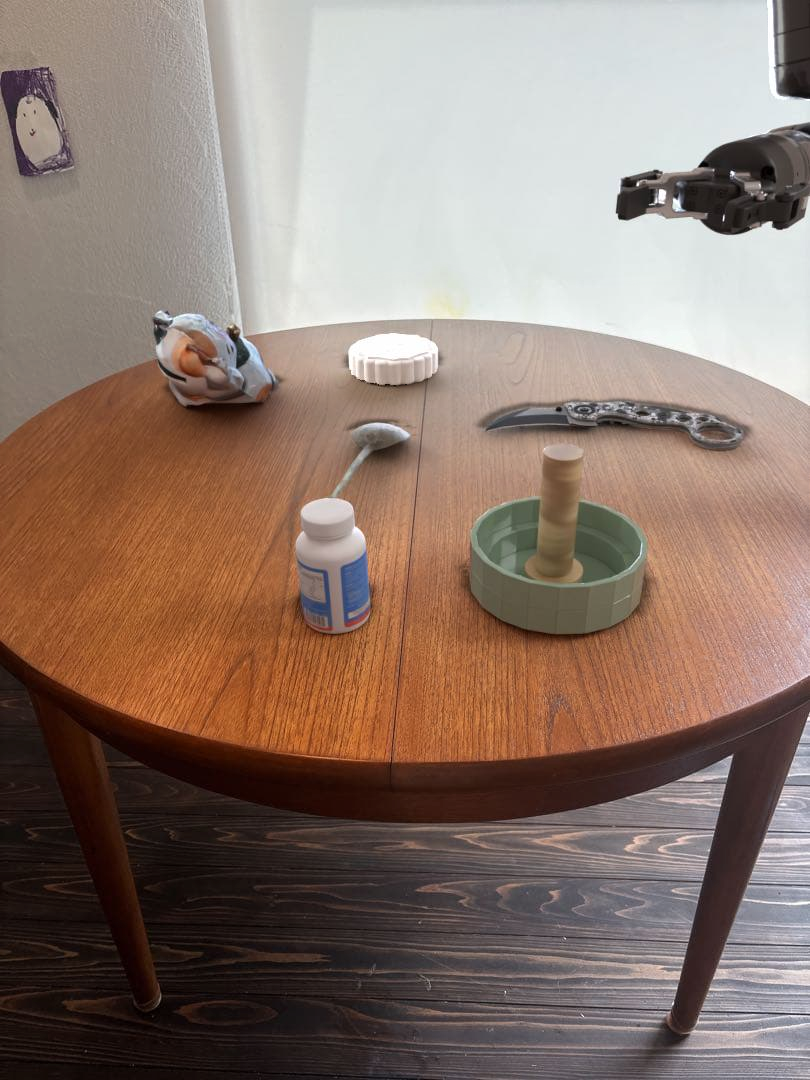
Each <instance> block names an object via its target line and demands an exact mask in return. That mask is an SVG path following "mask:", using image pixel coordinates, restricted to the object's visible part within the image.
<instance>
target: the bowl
mask: <svg viewBox="0 0 810 1080" xmlns="http://www.w3.org/2000/svg"><path fill="white" fill-rule="evenodd" d="M539 511H540V496H529V497H525V498H524V497H523V498H520V499H515V500H509V501H506V502H503V503H502V504H499V505H497V506H495V507H494V506H493V507H492V508H489V509H488V510H486V511H485V513H483V514H482V515H481V516H480V517H478V518H477V519H476V520H475V522H474V524H473V527H472V529H471V531H470V532H469V568H468V573H469V574H468V578H469V579H468V580H469V586H470V592H471V595H473V596H474V598H475V599H476V600H477V602H478V603H479V605H480V606H481V607H482V609H484V610H485V611H487V612H488V613H490V614H491V615H493V616H495V617H496V618H497V619H498V620H500V621H501V622H505V623H507V624H510V625H512V626H515V627H518V628H520V629H523V630H526V631H532V632H539V633H545V634H551V635H582V634H589V633H593V632H597V631H602V630H606V629H609V628H611V627H613V626H615V625H617V624H618V623H620V622H622V621H624V620H626V619H628V618H629V617H630V616H631V614H632V613H633V612H634V610H635V609H636V608H637V607H638V605H639V604H640V602H641V597H642V590H643V583H644V576H645V571H646V562H647V555H648V548H649V542H648V540H647V538H646V536H645V534H644V532H643V530H642V528H641V527H640V526H638V525H637V523H635V522H634V521H633V520H632V519H631V518H629V517H628V516H627V515H625V514H623V513H621V512H619V511H616V510H615V509H613V508H611V507H609V506H606V505H603V504H601V503H600V504H599V503H596V502H593V501H589V500H585V499H580V498H579V506H578V516H577V527H576V537H575V547H574V557H573V558H575V559H576V560H577V561H579V562H580V563H581V565H582V567H583V580H582V583H569V584H557V583H551V582H544V581H537V580H531V579H528V578H525V577H524V567H525V563H526V561H527V560H528V559H529V558H530V557H532V556H534V555H536V553H537V539H538V525H539Z"/></svg>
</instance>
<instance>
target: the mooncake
mask: <svg viewBox="0 0 810 1080" xmlns="http://www.w3.org/2000/svg"><path fill="white" fill-rule="evenodd" d="M348 366H349V371H350V370H351V371H350V375H351V376H352V375H355V376H356V377H357V378H358V379H360V380H365V381H366V382H365V381H364V382H365V383H367V382H370V383H374V384H375V383H377V384H376V385H378V384H379V385H378V386H386V385H385V384H390V385H389V386H393V385H396V386H400V385H405V384H407V385H412V384H414V383H420V382H423V381H424V380H427V378H428V379H431V378H432V376H433V375H435V374H437V372H438V367H439V348H438V346H437V345H436V343H435V342H433V341H431V340H429V339H428V338H426V337H422V336H419V335H418V334H400V333H394V332H391V333H386V334H384V333H383V334H382V333H379V334H377V335H374V336H371V337H366V338H362V339H359V340H357V341H356V342H355V343H353V344H352V345H351V346H350V348H349V349H348ZM432 374H433V375H432ZM356 377H355V378H356ZM357 378H356V379H357ZM358 379H357V380H358ZM360 380H359V381H360ZM370 383H369V384H370Z"/></svg>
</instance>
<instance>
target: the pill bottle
mask: <svg viewBox="0 0 810 1080" xmlns="http://www.w3.org/2000/svg"><path fill="white" fill-rule="evenodd" d="M300 527H301V529H302V531H301V532H300V533H299V535H298V536H297V538H296V540H295V557H296V566H297V573H298V580H299V581H298V582H299V588H300V596H301V597H300V598H301V607H302V614H303V618H304V621H305V623H306V624H307V626H309V627H310V628H311V629H313V630H314V631H317V632H319V633H322V634H323V633H324V634H328V635H329V634H330V635H340V634H345V633H349V632H353V631H355V630H357V629H359V628H360V627H362V626H363V625H364V624H365V623H366V622H367V620H369V618H370V616H371V615H370V614H371V595H370V583H369V568H368V567H369V566H368V553H367V544H366V543H367V542H366V538H365V535H364V533H363V532H362V531H361V529H359V528H358V527H357V526H356V518H355V511H354V507H353V505H352V504H351V503H350V502H349V501H346V500H344V499H342V498H327V497H325V498H319V499H315V500H312V501H310V502H308V503H307V504H305V505H304V506H303V507H302V508H301V510H300Z"/></svg>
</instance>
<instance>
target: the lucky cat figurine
mask: <svg viewBox="0 0 810 1080" xmlns="http://www.w3.org/2000/svg"><path fill="white" fill-rule="evenodd" d="M151 321H152V323H153V337H154V339H155V352H156V357H157V365H158V368H159V370H160V372H161V373H162V375H163V377H164V378H165V379H167V380H168V385H169V389H170V391H171V393H172V395H174V396H175V398H176V399H177V401H178V402H179V404H181V403H182V404H183V405H185V406H187V405H193V404H194V405H193V406H201V405H203V404H246V403H247V404H248V403H251V402H253V403H252V404H261V403H260V402H263V401H264V400H265V399H266V398H267V397H268V398H269V396H270V395H269V393H270V391H271V390H272V391H274V389H275V388H276V387H279V379H277V378H276V377H275V375H274V373H273V371H272V370H271V369H270V368H269V367H265V363H264V359H263V356H262V354H261V353H259V350H258V349H257V347H256V346H255V345H254V344H253V343H252V342H250V341H248V340H247V339H246V338H245V337H242V336H241V328H240V327H239V326H237V325H236V324H235V323H234V322H231V323H229V324H228V325H227V326H226V330H224V329H223V328H221V327H220V326H219V325H218V324H215V323H214V321H212V320H211V319H210V318H208V317H204V315H202V314H199V313H183V314H180V315H177V316H176V317H172V315H171V314H170V312H169V311H168V310H167V309H162V310H158V312H156V313H155V314H154V316H153V317H151ZM268 395H269V396H268ZM268 398H267V399H268ZM267 399H266V400H267ZM183 405H182V406H183Z"/></svg>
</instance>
